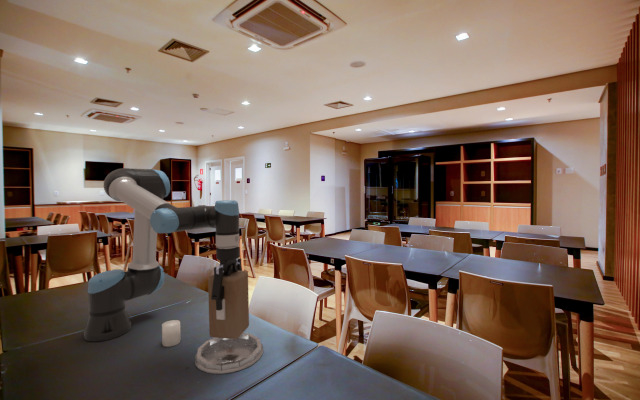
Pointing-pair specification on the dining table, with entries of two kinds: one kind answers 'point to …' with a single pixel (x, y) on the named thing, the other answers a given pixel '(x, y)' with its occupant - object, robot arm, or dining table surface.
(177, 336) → the white domed cylinder
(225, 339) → the metallic bowl
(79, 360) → the dining table surface
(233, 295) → the block
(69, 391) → the dining table surface
